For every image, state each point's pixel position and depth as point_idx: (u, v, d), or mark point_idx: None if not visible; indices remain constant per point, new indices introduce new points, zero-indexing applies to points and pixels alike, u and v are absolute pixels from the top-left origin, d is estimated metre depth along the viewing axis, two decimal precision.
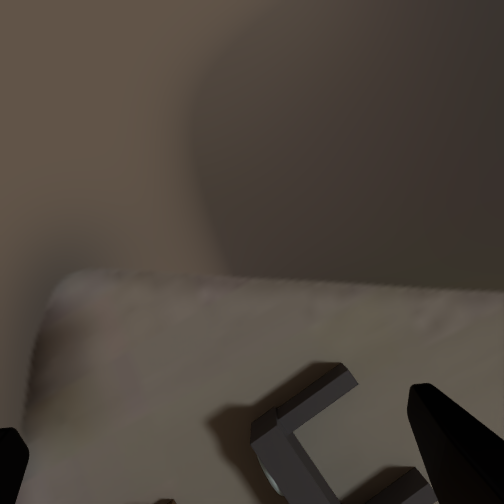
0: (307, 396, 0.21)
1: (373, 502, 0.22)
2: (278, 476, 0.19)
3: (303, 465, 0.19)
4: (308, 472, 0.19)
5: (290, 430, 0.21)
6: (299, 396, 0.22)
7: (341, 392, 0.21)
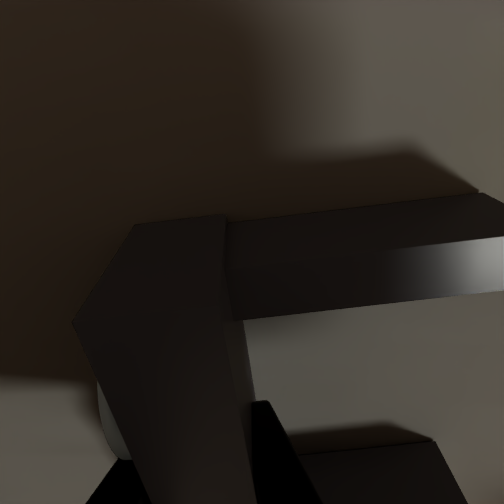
0: (355, 242, 0.06)
1: (325, 465, 0.10)
2: (144, 437, 0.05)
3: (242, 439, 0.05)
4: (245, 454, 0.06)
5: (246, 313, 0.06)
6: (316, 223, 0.07)
7: (471, 284, 0.06)
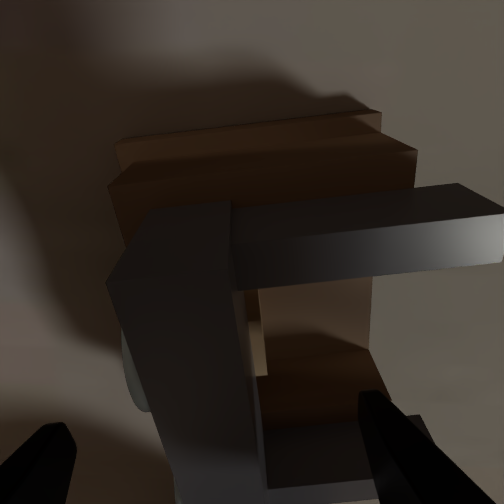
0: (343, 222, 0.07)
1: (318, 435, 0.11)
2: (161, 387, 0.06)
3: (245, 390, 0.06)
4: (248, 406, 0.07)
5: (249, 284, 0.07)
6: (311, 208, 0.07)
7: (443, 259, 0.07)
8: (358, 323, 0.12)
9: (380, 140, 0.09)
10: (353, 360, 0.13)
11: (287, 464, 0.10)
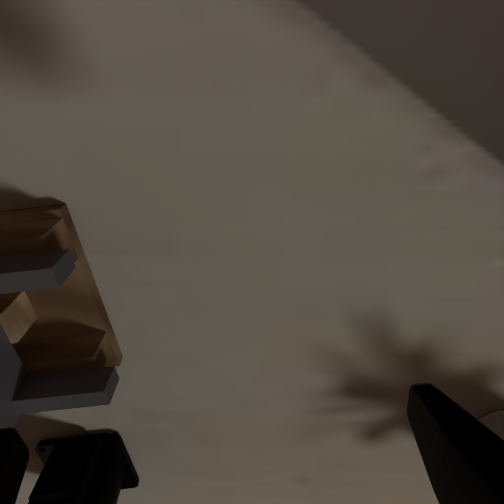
0: None
1: (55, 377, 0.20)
2: None
3: None
4: None
5: None
6: None
7: (34, 286, 0.16)
8: (93, 316, 0.22)
9: (49, 225, 0.18)
10: (92, 337, 0.22)
11: (29, 390, 0.20)
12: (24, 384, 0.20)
